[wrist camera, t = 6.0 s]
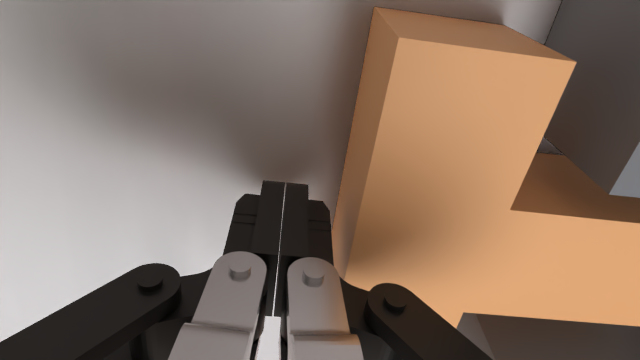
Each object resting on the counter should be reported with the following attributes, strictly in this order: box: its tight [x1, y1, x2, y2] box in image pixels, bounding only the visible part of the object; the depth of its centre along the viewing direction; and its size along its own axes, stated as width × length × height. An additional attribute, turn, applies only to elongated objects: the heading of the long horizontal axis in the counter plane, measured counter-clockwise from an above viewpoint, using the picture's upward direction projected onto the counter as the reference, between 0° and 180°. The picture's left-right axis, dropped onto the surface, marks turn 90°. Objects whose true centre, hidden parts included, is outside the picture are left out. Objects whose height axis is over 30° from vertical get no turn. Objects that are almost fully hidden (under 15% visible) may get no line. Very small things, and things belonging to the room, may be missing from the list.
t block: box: [331, 7, 640, 328], centre depth 14 cm, size 12×12×4 cm
